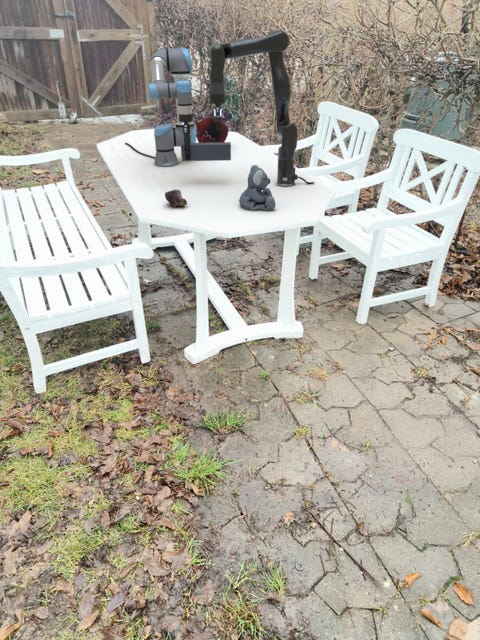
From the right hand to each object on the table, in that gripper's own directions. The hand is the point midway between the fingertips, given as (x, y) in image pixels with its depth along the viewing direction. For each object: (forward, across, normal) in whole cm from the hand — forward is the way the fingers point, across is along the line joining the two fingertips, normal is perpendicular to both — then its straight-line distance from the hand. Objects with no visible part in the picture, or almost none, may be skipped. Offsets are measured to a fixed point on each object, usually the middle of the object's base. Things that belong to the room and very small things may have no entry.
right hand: (218, 127), depth 228 cm
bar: (+20, +17, +7) cm, 27 cm away
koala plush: (+33, -23, -18) cm, 44 cm away
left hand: (+19, +17, +18) cm, 31 cm away
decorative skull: (+33, +100, +6) cm, 105 cm away
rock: (+33, -20, +23) cm, 45 cm away
